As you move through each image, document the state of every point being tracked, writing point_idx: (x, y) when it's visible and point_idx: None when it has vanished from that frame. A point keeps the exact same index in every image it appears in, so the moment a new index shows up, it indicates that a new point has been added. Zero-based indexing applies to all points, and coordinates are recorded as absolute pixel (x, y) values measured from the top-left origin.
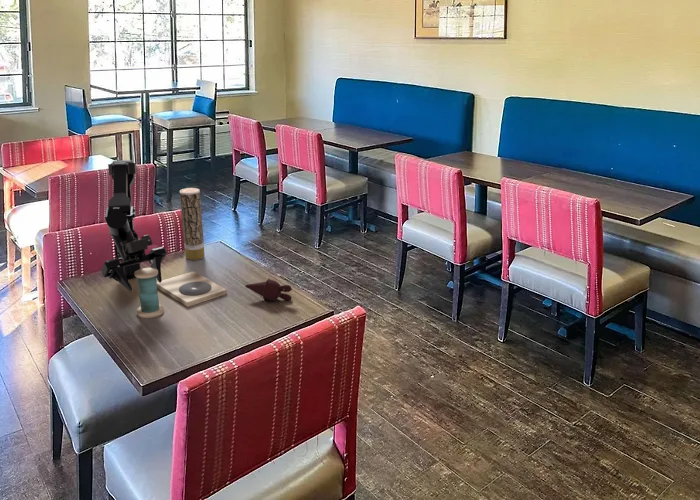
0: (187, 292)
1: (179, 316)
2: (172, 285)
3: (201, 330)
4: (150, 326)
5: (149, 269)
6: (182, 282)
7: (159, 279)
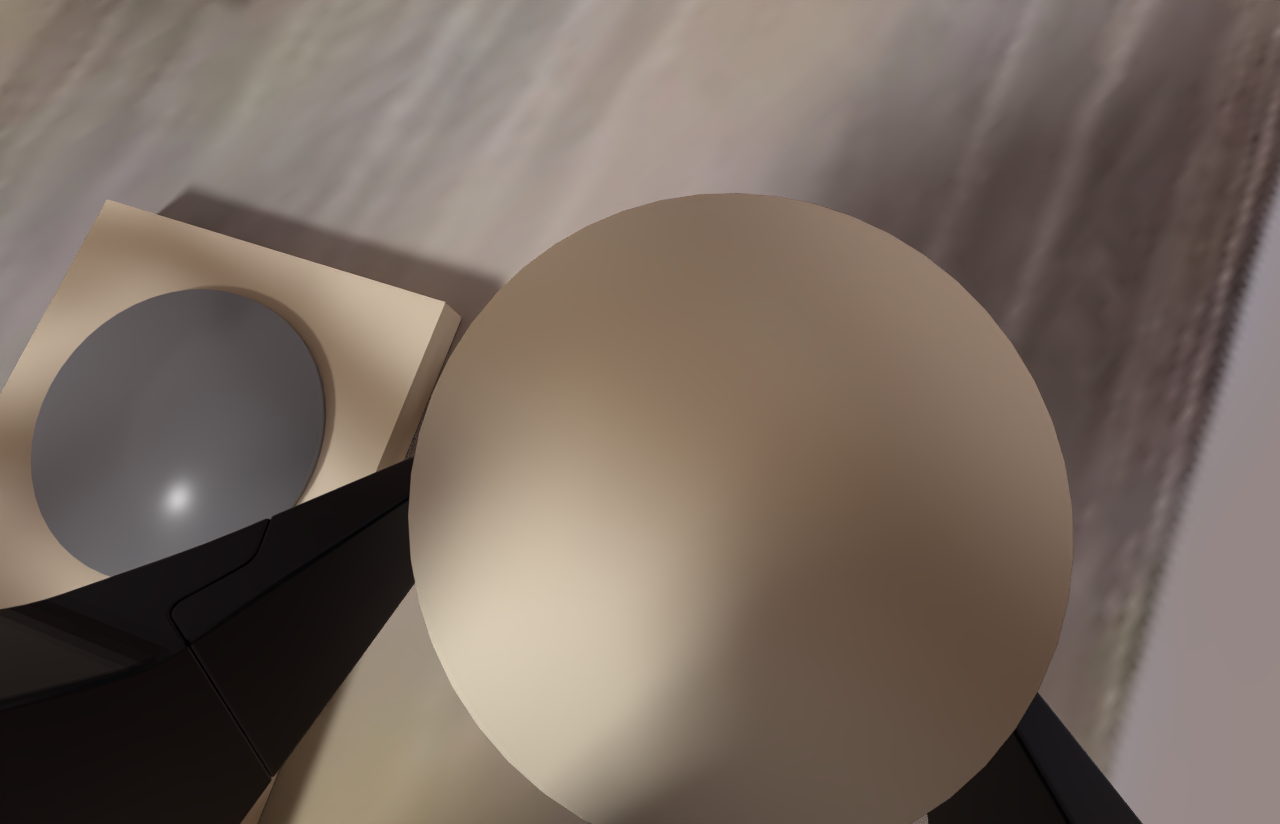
0: (285, 422)
1: None
2: None
3: (706, 9)
4: None
5: (538, 553)
6: None
7: None
